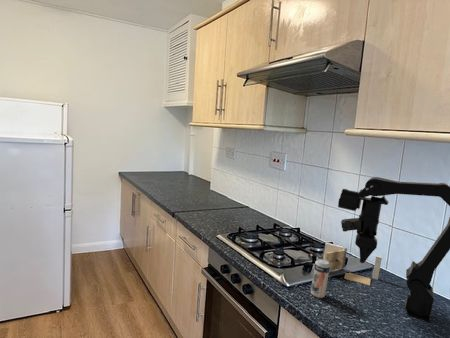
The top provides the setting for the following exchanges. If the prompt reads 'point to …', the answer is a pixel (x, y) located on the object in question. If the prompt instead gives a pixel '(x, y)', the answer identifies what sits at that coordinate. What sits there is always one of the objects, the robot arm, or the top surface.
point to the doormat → (357, 278)
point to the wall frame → (333, 247)
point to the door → (335, 259)
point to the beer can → (320, 278)
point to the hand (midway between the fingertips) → (362, 257)
